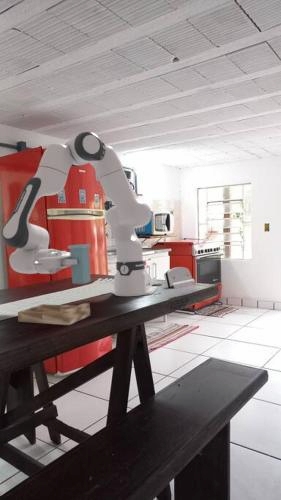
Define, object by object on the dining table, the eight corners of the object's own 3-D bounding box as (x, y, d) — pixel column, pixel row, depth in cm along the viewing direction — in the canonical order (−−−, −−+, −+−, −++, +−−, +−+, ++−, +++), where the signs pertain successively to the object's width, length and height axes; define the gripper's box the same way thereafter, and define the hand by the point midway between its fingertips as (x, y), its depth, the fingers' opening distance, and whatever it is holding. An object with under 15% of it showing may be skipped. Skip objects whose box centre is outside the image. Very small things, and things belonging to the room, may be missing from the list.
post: (79, 281, 123) (77, 244, 122) (92, 281, 120) (90, 244, 120) (70, 283, 118) (68, 245, 117) (84, 283, 115) (81, 245, 115)
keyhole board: (43, 312, 120) (42, 301, 120) (90, 315, 112) (89, 303, 112) (18, 321, 109) (17, 308, 109) (69, 325, 101) (68, 311, 101)
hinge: (174, 288, 159) (168, 267, 161) (167, 291, 162) (161, 270, 164) (196, 283, 170) (190, 264, 172) (189, 286, 174) (183, 267, 176)
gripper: (29, 255, 114) (63, 254, 109) (65, 250, 133) (96, 249, 127) (30, 274, 114) (65, 273, 109) (66, 266, 133) (97, 266, 128)
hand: (82, 260), depth 118 cm, fingers closed on post, 4 cm apart
